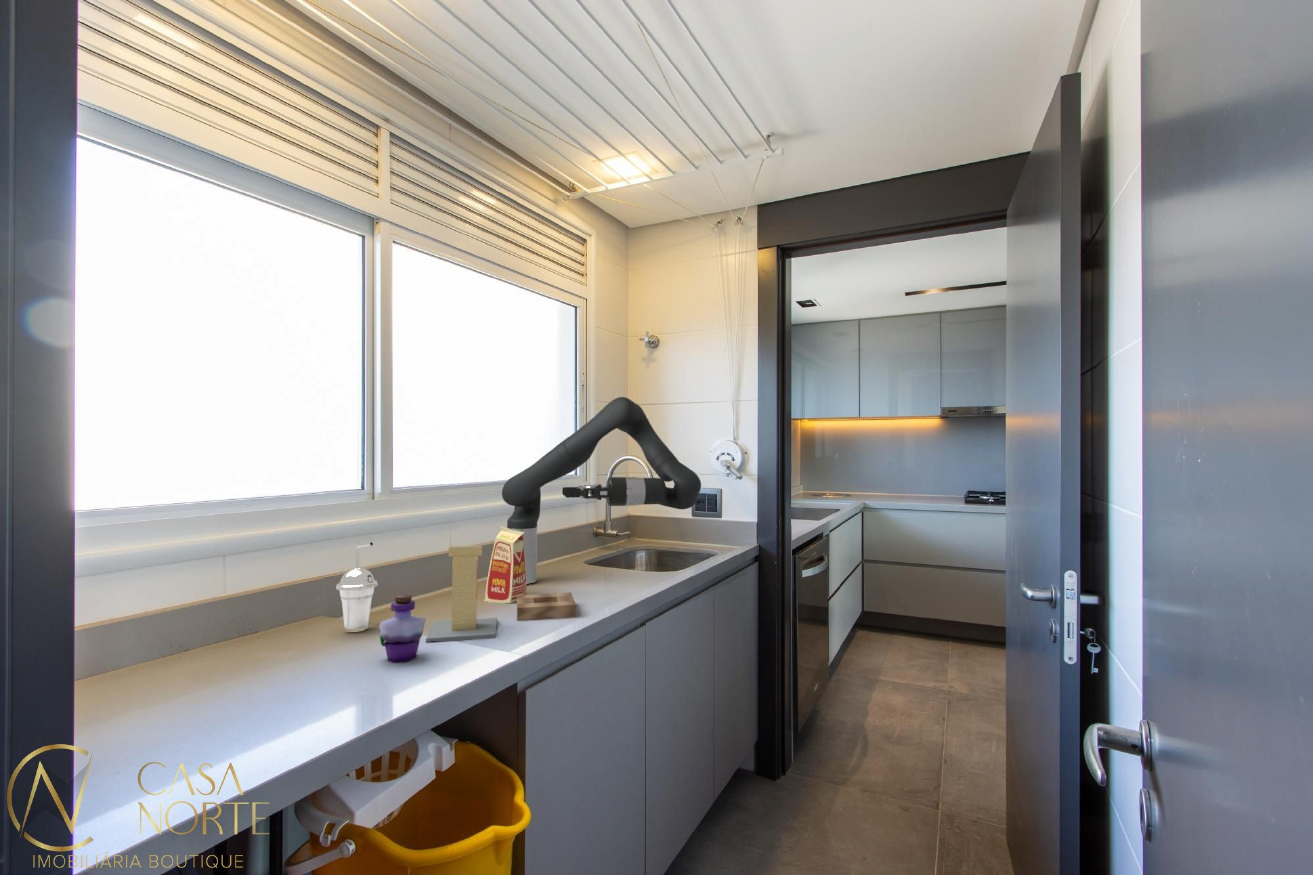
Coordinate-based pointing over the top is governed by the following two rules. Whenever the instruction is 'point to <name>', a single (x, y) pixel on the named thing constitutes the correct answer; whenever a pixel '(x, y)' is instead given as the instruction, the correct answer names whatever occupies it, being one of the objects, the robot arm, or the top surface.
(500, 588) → the milk carton
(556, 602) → the socket block
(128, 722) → the top surface
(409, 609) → the potion bottle
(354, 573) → the cup with straw
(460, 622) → the pale yellow tall block
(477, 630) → the slate mat
